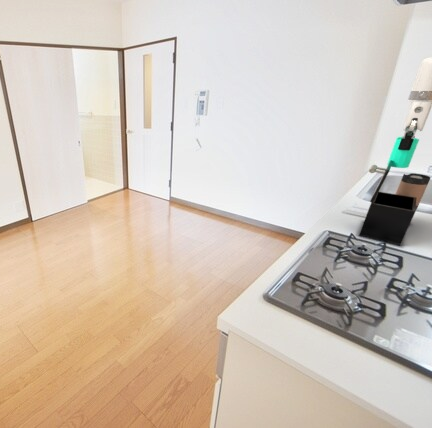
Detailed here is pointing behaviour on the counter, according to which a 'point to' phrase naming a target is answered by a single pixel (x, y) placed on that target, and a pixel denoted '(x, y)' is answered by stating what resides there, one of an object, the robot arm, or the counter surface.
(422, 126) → the robot arm
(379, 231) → the black flip-top box
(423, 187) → the travel mug
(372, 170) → the black hinged box lid
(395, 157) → the candle
